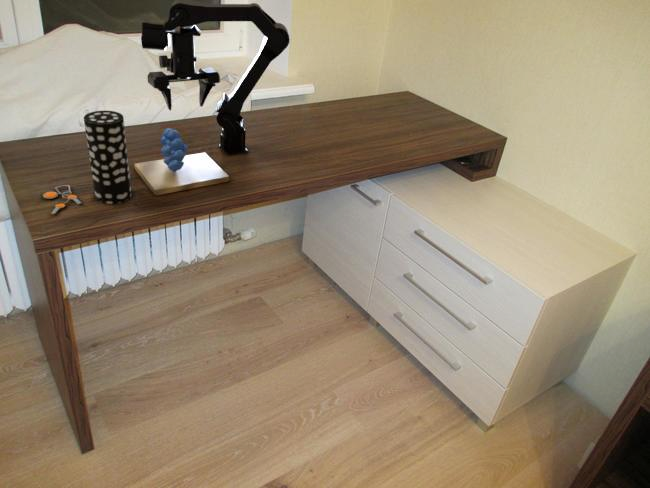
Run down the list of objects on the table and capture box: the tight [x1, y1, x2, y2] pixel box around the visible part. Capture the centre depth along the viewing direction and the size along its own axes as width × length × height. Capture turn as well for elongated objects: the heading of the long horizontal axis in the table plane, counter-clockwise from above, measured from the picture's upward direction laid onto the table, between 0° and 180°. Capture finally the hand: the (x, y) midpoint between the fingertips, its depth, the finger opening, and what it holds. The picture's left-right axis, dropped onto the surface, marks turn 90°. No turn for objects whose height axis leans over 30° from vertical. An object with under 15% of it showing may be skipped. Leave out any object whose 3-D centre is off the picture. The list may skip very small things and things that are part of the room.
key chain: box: [42, 184, 82, 215], centre depth 128 cm, size 13×7×1 cm, turn 31°
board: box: [133, 152, 230, 196], centre depth 145 cm, size 20×16×2 cm
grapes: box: [159, 127, 189, 172], centre depth 141 cm, size 12×7×12 cm, turn 35°
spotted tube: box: [83, 110, 132, 205], centre depth 127 cm, size 8×8×20 cm
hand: (185, 107), depth 153 cm, fingers open, 9 cm apart
